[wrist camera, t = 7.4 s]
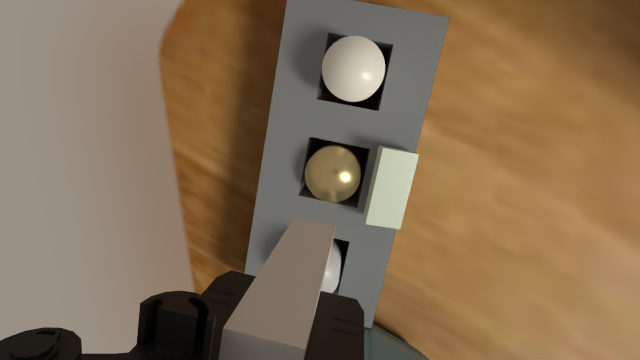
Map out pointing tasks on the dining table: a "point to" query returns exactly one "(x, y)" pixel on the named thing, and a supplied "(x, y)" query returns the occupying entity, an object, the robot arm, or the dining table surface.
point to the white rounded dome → (333, 267)
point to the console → (341, 129)
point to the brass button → (333, 172)
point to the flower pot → (387, 346)
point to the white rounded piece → (353, 68)
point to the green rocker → (390, 187)
